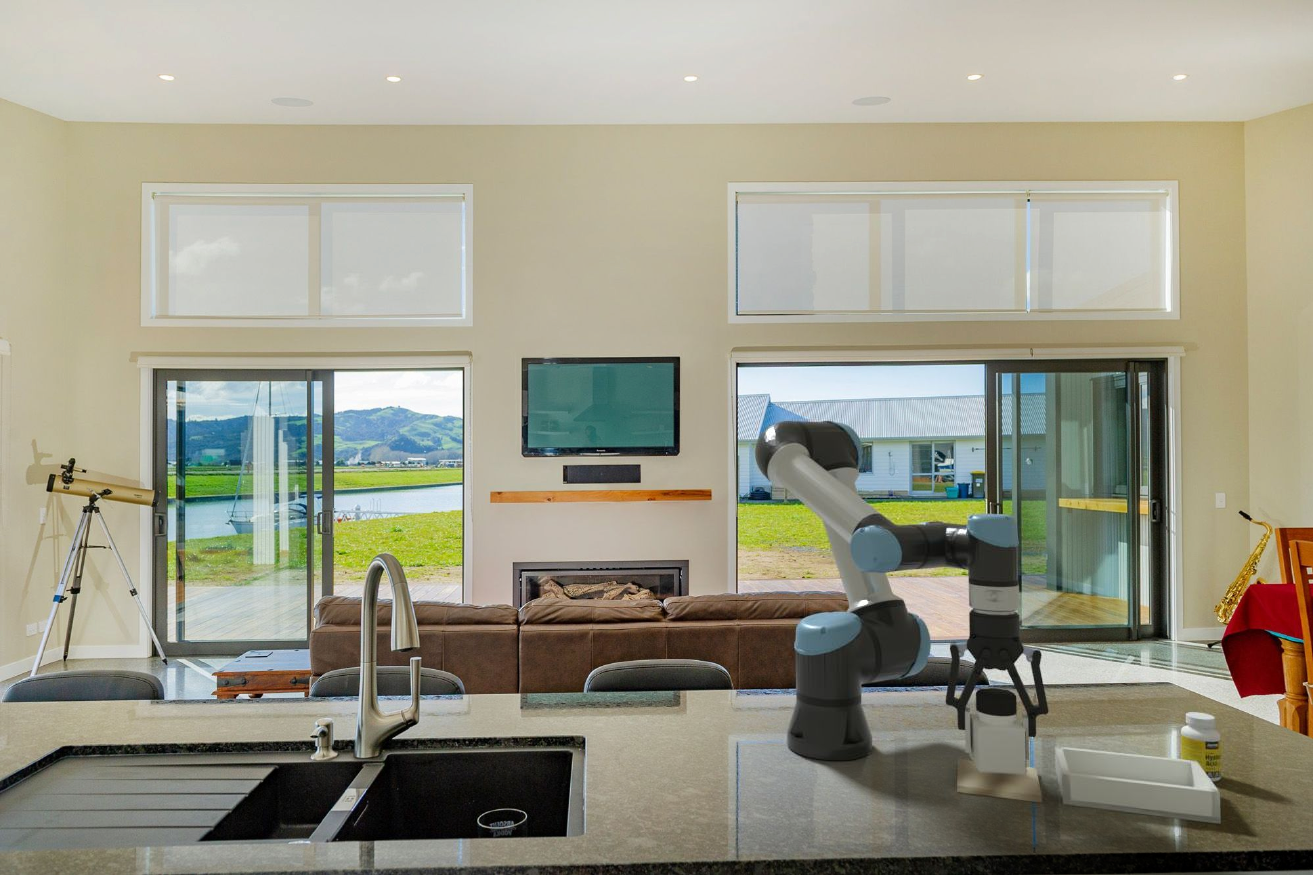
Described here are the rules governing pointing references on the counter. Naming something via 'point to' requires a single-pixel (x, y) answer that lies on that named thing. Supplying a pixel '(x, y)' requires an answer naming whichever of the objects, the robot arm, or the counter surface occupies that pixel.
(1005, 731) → the medicine bottle
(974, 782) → the board
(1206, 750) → the supplement bottle
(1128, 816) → the counter surface
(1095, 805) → the parts bin
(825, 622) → the robot arm
